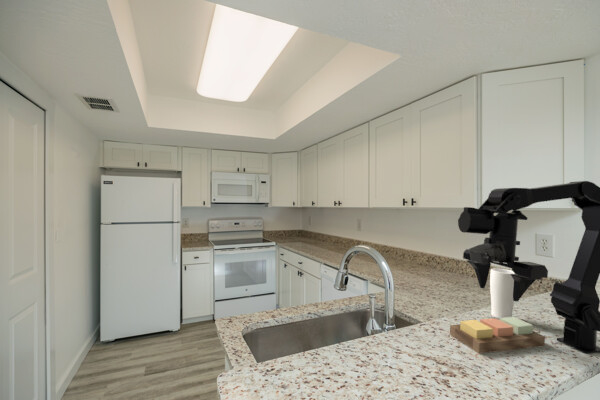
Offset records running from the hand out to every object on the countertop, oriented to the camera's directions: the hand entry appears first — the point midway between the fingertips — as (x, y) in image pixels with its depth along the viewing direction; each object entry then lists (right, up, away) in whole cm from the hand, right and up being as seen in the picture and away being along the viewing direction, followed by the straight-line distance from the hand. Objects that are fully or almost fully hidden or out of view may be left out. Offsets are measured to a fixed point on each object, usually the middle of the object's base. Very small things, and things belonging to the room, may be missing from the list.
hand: (497, 294), depth 70 cm
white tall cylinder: (+12, -13, +14) cm, 22 cm away
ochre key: (-7, -10, -1) cm, 12 cm away
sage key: (+6, -11, +2) cm, 12 cm away
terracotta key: (0, -11, 0) cm, 11 cm away
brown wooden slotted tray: (0, -12, 0) cm, 12 cm away
